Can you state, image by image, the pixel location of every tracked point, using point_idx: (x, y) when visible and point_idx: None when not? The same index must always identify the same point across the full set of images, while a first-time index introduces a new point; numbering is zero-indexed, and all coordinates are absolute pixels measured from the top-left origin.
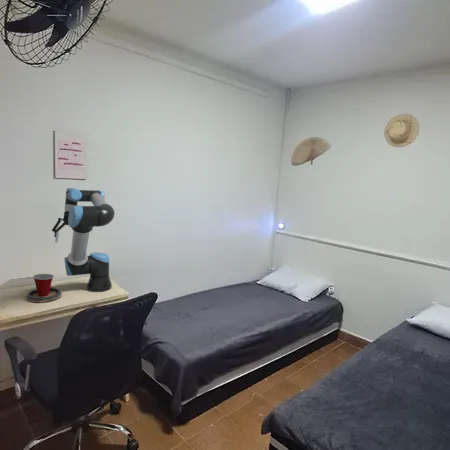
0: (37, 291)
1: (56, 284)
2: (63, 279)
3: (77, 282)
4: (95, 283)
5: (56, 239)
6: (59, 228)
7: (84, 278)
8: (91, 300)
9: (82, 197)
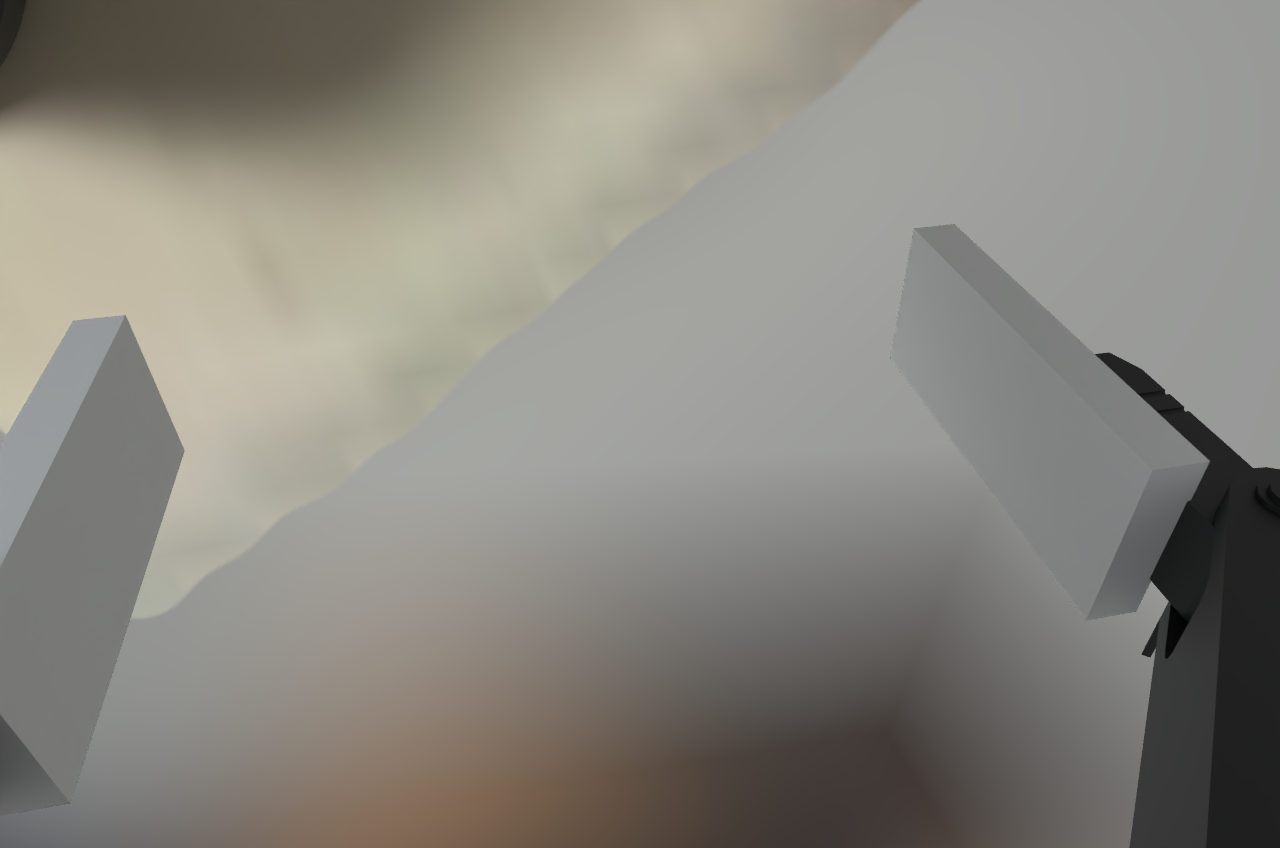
0: None
1: (588, 13)
2: (582, 248)
3: (325, 150)
4: None
5: (977, 281)
6: (1248, 691)
7: (312, 343)
8: None
9: None
